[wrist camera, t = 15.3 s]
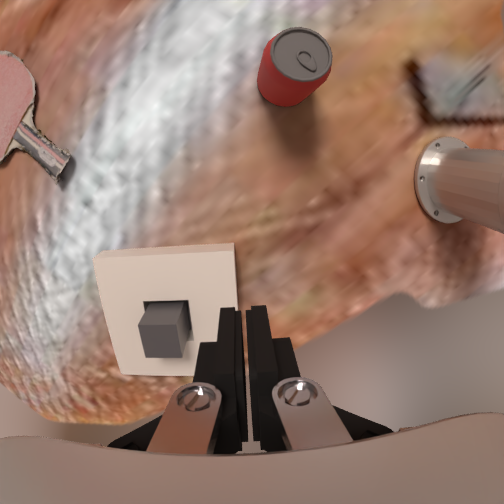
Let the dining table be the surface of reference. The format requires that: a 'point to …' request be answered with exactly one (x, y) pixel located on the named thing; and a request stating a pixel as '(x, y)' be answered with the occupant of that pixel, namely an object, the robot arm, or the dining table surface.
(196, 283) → the socket
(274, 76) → the beer can
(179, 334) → the plug
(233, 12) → the dining table surface
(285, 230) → the dining table surface
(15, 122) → the table tennis paddle
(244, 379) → the robot arm
